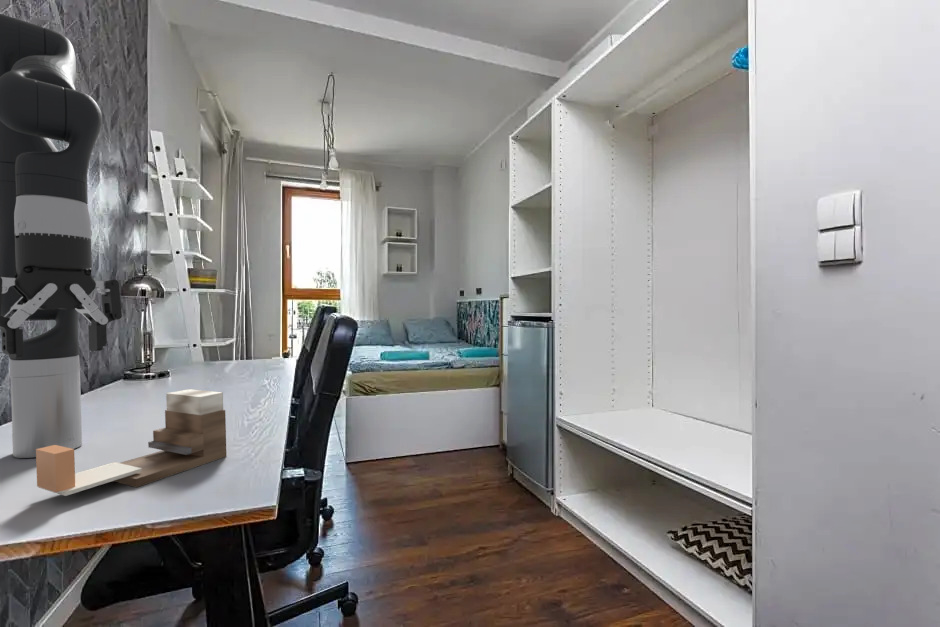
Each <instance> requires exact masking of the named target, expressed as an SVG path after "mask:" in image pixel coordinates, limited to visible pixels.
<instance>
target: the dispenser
mask: <svg viewBox="0 0 940 627" xmlns="http://www.w3.org/2000/svg"><path fill="white" fill-rule="evenodd" d="M165 394H166V396H165V397H166V410H164V416H165V417H164V419H165V422H164V423H165V427H162V428H159V429H154V430H152V435H153V436H152V437H153V440H151V441H148V445H147V446H148V449H149V448H150V449H155V450H158V451H157V452H153V453H149V454H146V455H143V456H142V455H141V456H139V457H134V458H132V459H129V460H125V461H121V462H120V463H121V464H125V465H130V466H134V467H138V468H142V472H139V473H136V474H133V475H130V476H127V477H124V478H120V479H117V480H114V481H113V482H115V483H117V484H118V483H119V484H123V485H125V486H130V487H133V488H139V487H142V486H144V485H147V484H150V483H153V482H156V481H160V480H161V479H165V478H167V477H171V476H174V475H176V474H179V473H182V472H184V471H188V470H191V469H193V468H197V467H199V466H203V465H205V464H208V463H211V462H214V461H217V460H221V459H223V458H225V457H227V456H228V455H227V427H226V426H227V425H226V424H227V421H226V420H227V419H226V410H225V409H224V393H223V392H219V391H212V390H210V391H209V390H200V389H191V388H189V389H183V390H177V391H171V392H166V393H165Z"/></svg>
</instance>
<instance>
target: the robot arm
mask: <svg viewBox="0 0 940 627" xmlns="http://www.w3.org/2000/svg"><path fill="white" fill-rule="evenodd" d="M76 76H77V59H76V52H75V49H74V46H73V44H72V43H71V41H70V39H69V38H67V37H66V35H63V34H62V33H60V32H58V31H55V30H53V29H50V28H47V27H43V26H40V25H38V24H35V23H31V22H28V21H25V20H22V19H20V18H19V19H18V18H16V17H12V16H9V15H6V14H3V13H0V332H1V333H0V334H1V351H2V352H3V354H4V355H8V358H9V371H10V372H9V373H10V376H9V377H10V398H11V400H10V401H11V404H10V405H11V429H12V431H11V432H12V434H11V435H12V436H11V438H12V439H11V440H12V457H14V458H18V459H26V458H27V459H28V458H36V449H39V448H43V447H48V446H52V445H58V446H62V447H67V448H71V449H74V450H75V449H77V448H79V447H81V446H82V445H83V436H82V435H83V432H82V431H83V430H82V425H83V424H82V399H81V398H82V395H81V391H82V390H81V366H80V344H79V314H81V315H82V316H83V317H84V318H85V319H86V320H87V321H88V322H89V323H90V324H88V325H87V326H88V327H87V328H88V330H87V331H88V349H89V351H91V352H101V351H103V348H104V347H106V345H107V343H108V341H107V340H108V338H107V326H108V324H109V323H111V322H114V321H116V320H117V321H118V320H120V319H122V317H123V315H122V314H123V312H122V303H121V302H122V301H121V290H120V283H119V282H120V281H119V280H117V279H114V278H113V279H111V278H110V279H103V280H95V279H94V278H93V275H92V270H93V257H92V255H93V254H92V253H93V252H92V235H93V231H92V224H91V223H92V221H91V216H90V212H89V205H88V203H89V201H88V173H89V170H88V169H89V164H90V160H91V157H92V153H93V150H94V147H95V145H96V141H97V139H98V137H99V134H100V132H101V128H102V124H103V115H102V110H101V108H100V106H99V105H98V103H97V102H96V101H95V100H94V98H93V97H92V96H90V94H87V93H85V92H82V91H80V90H77V89H76V87H75V85H76V80H77V79H76V78H77V77H76ZM52 140H55V141H59V142H60V141H61V142H65V143H68V146H67V147H66V148H65V149H62V150H58V149H57V148H56V145H55V144H54V143H53V142H52ZM95 289H96V290H97V293H98V294H99V295H101V301H102V302H101V303H102V311H101V310H100V309H99V308H100V307H99V306H98V305H97V303H96V302H95V301H94V300H93V299H92V298H91V297H90V295H91V294H92V293H93V291H94V290H95ZM25 321H27V322H28V321H34V322H35V321H55V325H54V326H53V327H52V328H51V329H49V330H47V331H45V332H43V333H42V334H40V335H36V336H34V337H33V336H32V337H29V338H27V339H24V333H23V332H24V331H23V330H24V329H23V328H20V326H21V325H22V324H23V323H24V322H25Z"/></svg>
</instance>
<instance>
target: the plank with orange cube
mask: <svg viewBox="0 0 940 627" xmlns="http://www.w3.org/2000/svg"><path fill="white" fill-rule="evenodd" d="M35 461H36V464H35V465H36V466H35V467H36V487H37V488H39V489H42V490H45V491H48V492H52V493H55V494H57V495H61V496H64V497H67V496H70V495H72V494H76V493H80V492H82V491H85V490H89V489H92V488H96V487H97V486H101V485H104V484H108V483H110V482H114V480H117V479H120V478H124V477H127V476H130V475H133V474H136V473H139V472H142V468H138V467H134V466H130V465H125V464H121V462H116V461H114V462H110V463H107V464H103V465H100V466H96V467H93V468H90V469H85V470H82V471H79V472H75V471H76V468H75V467H76V465H75V464H76V462H75V449H71V448H67V447H62V446H58V445H52V446H48V447H43V448H39V449H36V457H35Z"/></svg>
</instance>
